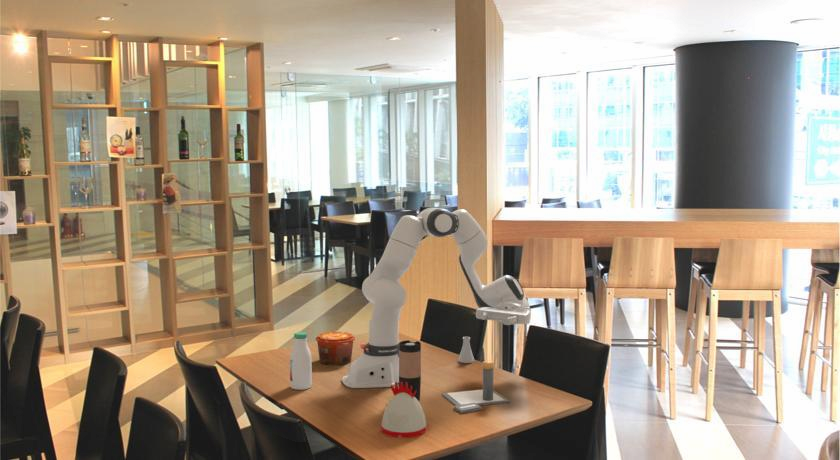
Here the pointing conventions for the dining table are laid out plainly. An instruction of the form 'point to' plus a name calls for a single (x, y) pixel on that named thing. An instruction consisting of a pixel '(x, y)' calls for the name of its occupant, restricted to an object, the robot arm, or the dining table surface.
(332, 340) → the food container
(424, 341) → the dining table surface
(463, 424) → the dining table surface
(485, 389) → the marker
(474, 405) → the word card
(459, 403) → the paper pad
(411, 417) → the kitchen timer
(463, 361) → the flask
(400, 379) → the travel mug
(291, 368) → the milk bottle
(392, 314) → the robot arm
